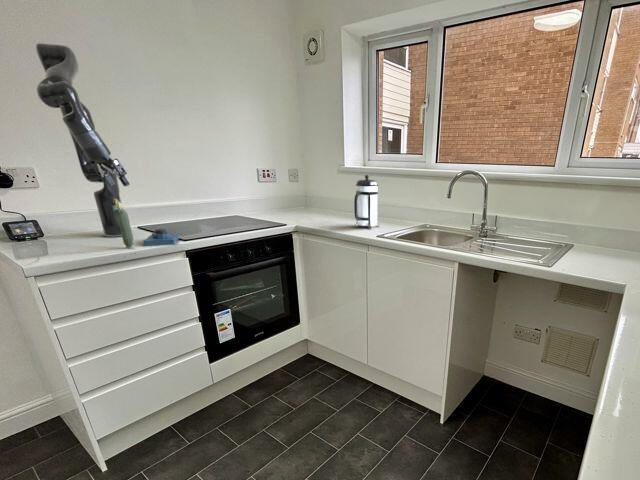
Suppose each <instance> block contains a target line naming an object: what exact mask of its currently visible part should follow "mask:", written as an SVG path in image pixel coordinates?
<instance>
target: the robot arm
mask: <svg viewBox="0 0 640 480" xmlns="http://www.w3.org/2000/svg"><path fill="white" fill-rule="evenodd" d="M35 50H36V54H37V57H38V59H39V62H40V64H41V66H42V69H43V70H44V73H45V77H44V78H43V79H42V80H41V81H40V82H39V83H38V84H37V87H36V93H37V96H38V98H39V99H40V101H41V102H42V103H43V104H44V105H45V106H47V107H49V108H52V109H60V112H61V115H62V121H63V123H64V124H65V126H66V127H67V130H68V133H69V135H70V138H71V140H72V143H73V145H74V149H75V152H76V157H77V160H78V163H79V166H80V169H81V172H82V174H83V177H84V178H85V180H87V181H88V182H90V183H97V184H99V183H100V184H101V183H102V184H103V187H102V188H101V189H99V190H95V191H93V197H94V201H95V204H96V208H97V211H98V215H99V219H100V222H101V226H102V232H103V234H104V236H105V237H107V238H119V237H122V234H121V231H120V228H119V226H118V224H117V222H116V220H115V217H114V211H115V210H116V209H117V208H116V205H115V202H114V203H113V199H116V200H118V201H119V202H120V203H121V205H122V209H123V210H124V208H123V203H122V199H121V195H120V192H121V191H120V186H119V181H120V183H121V184H122V186H123V187H129V186H130V185H131V184H130V181H129V180H128V179H127V177H126V175H127V174H128V172H127V171H126V169H125V167H124V166H123V165H122V163H121V162H120V160H119V159H118V158H114V159H112V158H111V154H112V152H111V150H110V148H109V147H108V146H107V145H106V143H105V142H104V140H103V138H102V137H101V135H100V134H99V133H98V132H97V130H96V126H95V122H94V120H93V117H92V114H91V111H90V109H88V107H87V106H86V105H85V104H84V103H83V102H82V101H81V100H80V96H79V93H78V91H77V90H76V88H75V87H74V86H73V82H74V80H75V78H76V76H77V74H79V71H80V68H79V62H78V59H77V56H76V54H75V52H74V51H73V50H72V48H71V47H69V46H67V45H63V44H54V43H43V42H40V43H39V42H38V43H36V44H35ZM118 180H119V181H118Z"/></svg>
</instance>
